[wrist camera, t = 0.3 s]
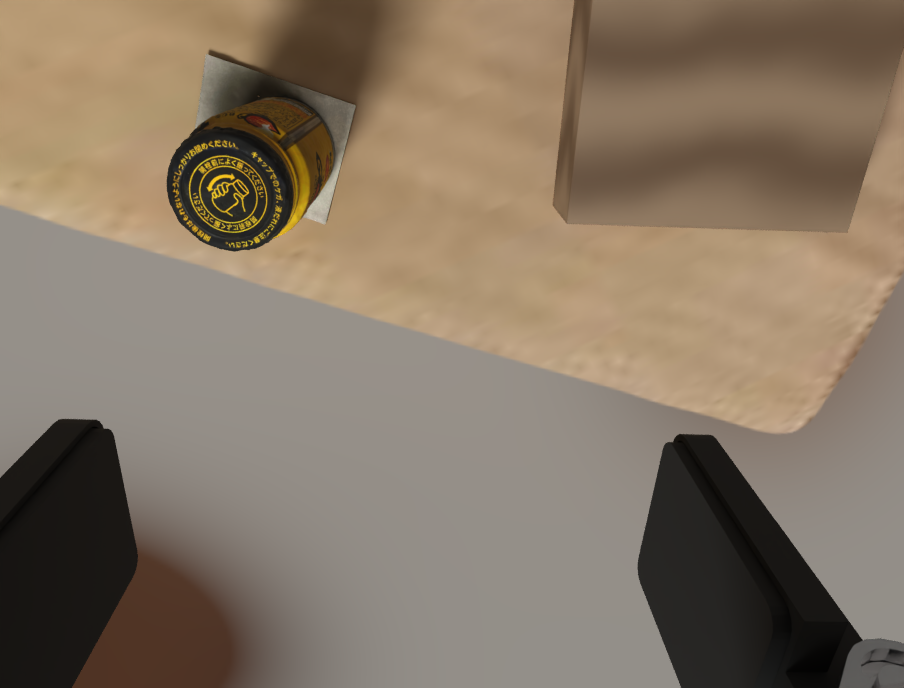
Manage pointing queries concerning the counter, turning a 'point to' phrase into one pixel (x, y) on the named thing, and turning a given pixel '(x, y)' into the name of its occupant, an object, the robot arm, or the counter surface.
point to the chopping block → (723, 111)
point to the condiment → (256, 157)
